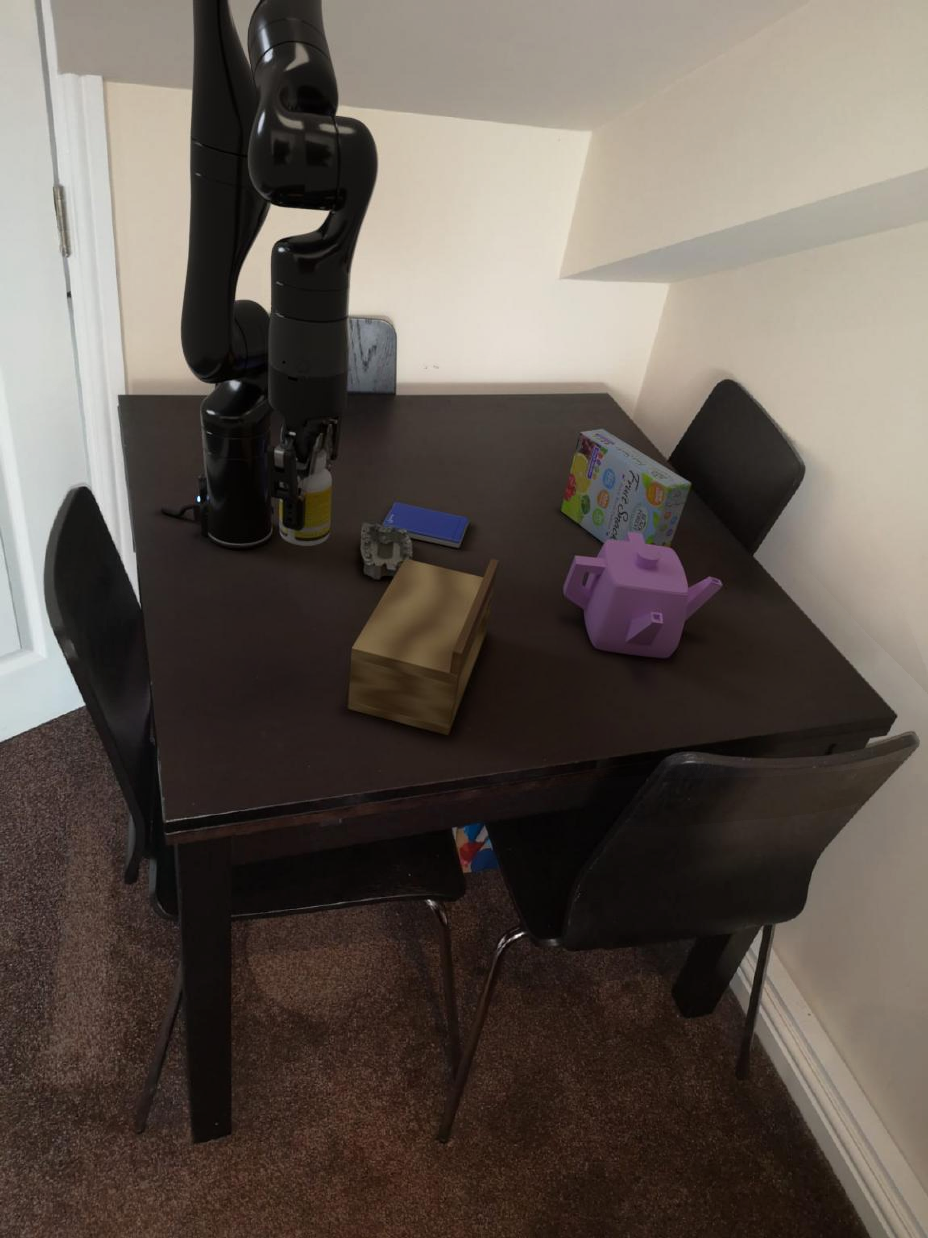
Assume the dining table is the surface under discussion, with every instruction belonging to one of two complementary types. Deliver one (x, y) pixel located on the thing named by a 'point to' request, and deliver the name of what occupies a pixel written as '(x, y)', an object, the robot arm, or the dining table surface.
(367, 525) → the egg carton
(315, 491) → the supplement bottle
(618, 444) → the snack box
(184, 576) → the dining table surface
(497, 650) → the dining table surface
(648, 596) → the teakettle
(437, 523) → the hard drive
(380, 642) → the lipped wooden block
